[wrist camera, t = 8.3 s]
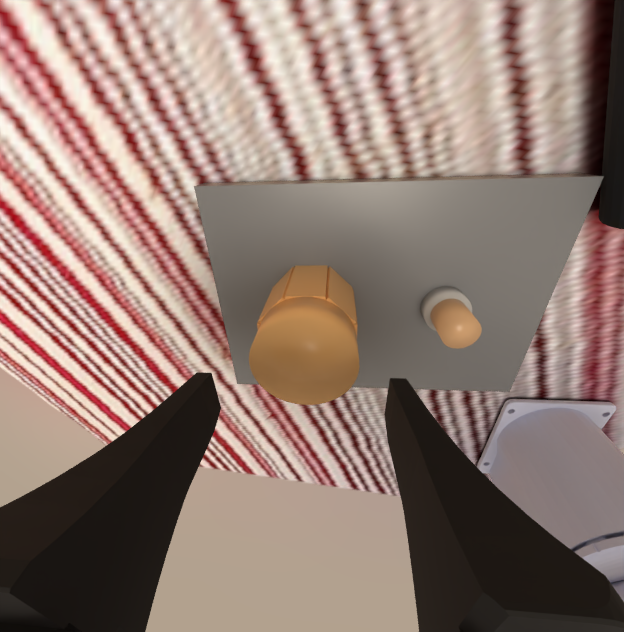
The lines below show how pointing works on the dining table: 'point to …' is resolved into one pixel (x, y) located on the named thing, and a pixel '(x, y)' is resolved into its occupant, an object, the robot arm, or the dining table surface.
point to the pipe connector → (614, 130)
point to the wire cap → (307, 337)
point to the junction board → (404, 265)
